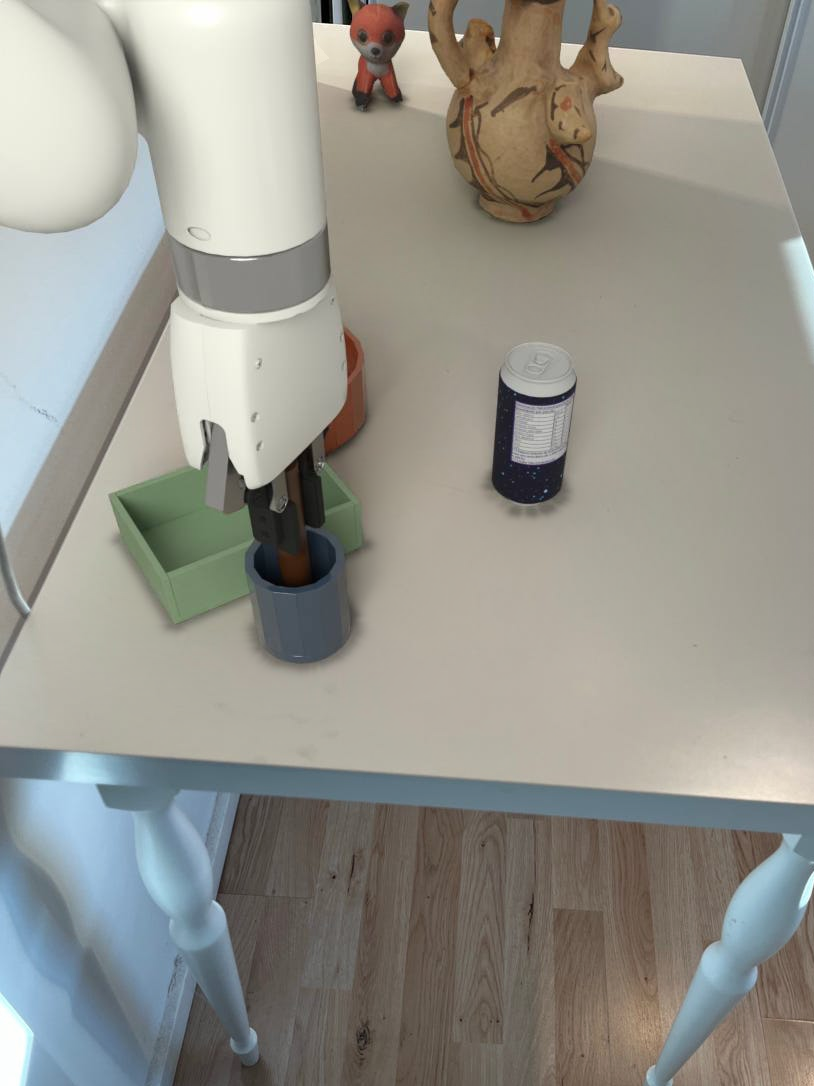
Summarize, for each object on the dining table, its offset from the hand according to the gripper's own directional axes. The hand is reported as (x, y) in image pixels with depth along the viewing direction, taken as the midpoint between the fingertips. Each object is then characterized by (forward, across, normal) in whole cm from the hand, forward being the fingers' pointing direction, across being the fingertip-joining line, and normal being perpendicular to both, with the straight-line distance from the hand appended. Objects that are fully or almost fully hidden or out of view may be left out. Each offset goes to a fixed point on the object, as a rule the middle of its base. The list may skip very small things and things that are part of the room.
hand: (289, 530), depth 61 cm
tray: (+9, -5, -9) cm, 14 cm away
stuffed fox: (+10, -83, -41) cm, 93 cm away
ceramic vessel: (+9, -65, -12) cm, 67 cm away
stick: (+9, 0, 0) cm, 9 cm away
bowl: (+9, -20, -14) cm, 26 cm away
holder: (+9, 0, 0) cm, 9 cm away
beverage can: (+10, -21, +8) cm, 24 cm away
